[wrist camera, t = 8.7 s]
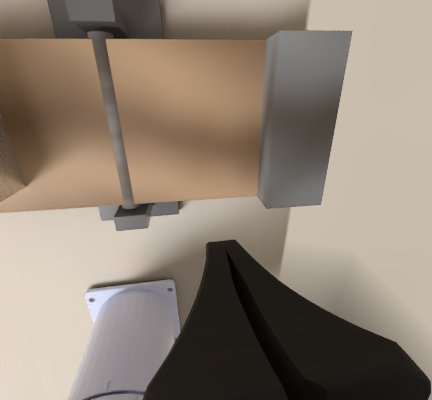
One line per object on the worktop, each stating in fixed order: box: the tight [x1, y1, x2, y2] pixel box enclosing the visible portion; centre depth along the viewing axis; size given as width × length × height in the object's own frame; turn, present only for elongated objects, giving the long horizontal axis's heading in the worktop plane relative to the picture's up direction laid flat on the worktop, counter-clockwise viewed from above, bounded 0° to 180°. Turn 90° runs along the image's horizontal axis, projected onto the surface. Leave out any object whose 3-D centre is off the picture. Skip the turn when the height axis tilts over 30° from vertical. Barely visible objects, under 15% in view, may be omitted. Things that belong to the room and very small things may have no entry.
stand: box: [47, 0, 179, 231], centre depth 15 cm, size 14×6×4 cm, turn 1°
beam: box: [0, 30, 352, 213], centre depth 13 cm, size 10×26×3 cm, turn 91°
